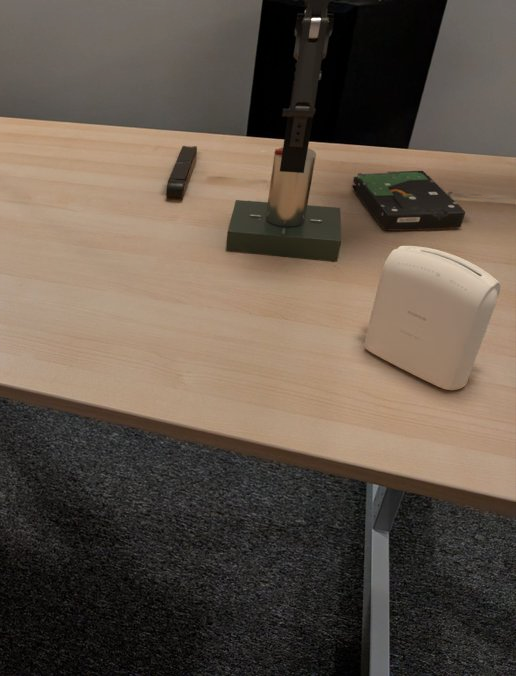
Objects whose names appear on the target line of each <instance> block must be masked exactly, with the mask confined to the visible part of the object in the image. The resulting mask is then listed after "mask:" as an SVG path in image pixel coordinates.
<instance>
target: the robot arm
mask: <svg viewBox="0 0 516 676" xmlns="http://www.w3.org/2000/svg"><path fill="white" fill-rule="evenodd" d="M294 1H297V2H299V1H300V2H301V1H304V2H303V3H304V6H305V7H304V12H303V13H297V14H296V19H295V20H296V21H295V27H294V36H295V43H294V50H293V58H294V59H295V60H296V63H295V64H294V65H295V66H294V68H295V70H294V73H293V77H294V80H293V81H292V87H291V93H290V100H289V106H288V108H282V113H281V117H282V118H287V119H286V126H285V133H284V138H283V145H282V147H283V152H282V159H281V165H280V171H282V172H296V173H304V168H305V162H306V156H307V151H308V149H309V144H310V138H311V133H312V132H311V131H312V126H313V121H314V116H315V115H316V111H317V110H316V108H315V106H316V100H317V94H318V88H319V81H322V72H323V71H322V69H321V68H322V62H323V60H324V59H325V58H326V56H327V53H328V46H329V39H330V37H331V36H332V32H333V28H334V22H335V18H334V16H335V15H334V13H328V11H329V5H330V4H329V3H331V2H333V1H334V0H294ZM335 1H338V2H341V1H342V0H335Z"/></svg>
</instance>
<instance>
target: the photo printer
mask: <svg viewBox="0 0 516 676" xmlns="http://www.w3.org/2000/svg"><path fill="white" fill-rule="evenodd" d="M379 277H380V278H379V281H378V284H377V289H376V292H375V297H374V301H373V305H372V310H371V312H370V313H371V314H370V316H369V317H370V319H369V321H368V326H367V329H366V333H365V338H364V344H363V345H364V349H365V350H367V351H368V352H369V353H371V354H372V355H374V356H377V357H378V358H380V359H381V360H383V361H386V362H388V363H390V364H392V365H394V366H396V367H397V368H399V369H401V370H403V371H406V372H407V373H409V374H411V375H413V376H414V377H417V378H419V379H421V380H422V381H426V382H428V383H430V384H432V385H433V386H436V387H438V388H441V389H443V390H445V391H448V390H449V391H457V390H461V389H462V388H464V387H465V386H466V385H467V384H468V381H469V378H470V375H471V372H472V370H473V367H474V365H475V362H476V359H477V356H478V353H479V351H480V349H481V346H482V343H483V340H484V338H485V335H486V332H487V329H488V328H489V327H488V326H489V324H490V321H491V319H492V316H493V313H494V311H495V309H496V304H497V301H498V299H499V296H500V292H501V282H500V281H499V280H497V279H496V278H495V277H494V276H493V275H491V274H490V273H488V272H487V271H486V270H484V269H483V268H481V267H480V266H477V265H476V264H474V263H472V262H470V261H468V260H466V259H464V258H462V257H459V256H457V255H455V254H452V253H449V252H446V251H442V250H439V249H435V248H431V247H426V246H418V245H399V247H397V248H395V249H393V250H391V252H390V253H389V254H388V257H387V258H386V260H385V262H384V264H383V266H382V269H381V272H380V276H379Z"/></svg>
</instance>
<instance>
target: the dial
mask: <svg viewBox="0 0 516 676" xmlns="http://www.w3.org/2000/svg"><path fill="white" fill-rule="evenodd" d="M282 152H283V146H282V147H279V148H275V149H274V152H273V160H272V168H271V175H270V176H271V177H270V182H269V189H268V190H269V191H268V199H267V202H268V205H267V213H266V219H267V221H268V222H270V223H272V224H274V225H277V226H283V227H293V226H298V225H301V224H302V223H304V221H305V217H306V211H307V205H308V204H309V199H310V194H311V193H310V192H311V188H312V180H313V175H314V170H315V163H316V157H317V153H316V151H315V150H313V149H311V148H308V151H307V156H306V162H305V168H304V173H296V172H282V171H280V165H281V159H282Z"/></svg>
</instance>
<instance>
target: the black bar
mask: <svg viewBox="0 0 516 676" xmlns="http://www.w3.org/2000/svg"><path fill="white" fill-rule="evenodd" d="M197 154H198V146H197V145H182V146H181V149H180V152H179V153H178V156H177V159H176V160H175V163H174V165H173V167H172V170H171V173H170V175H169V177H168V180H167V183H166V190H165V191H166V192H165V197H166V199H167V200H180V201H183V199H184V197H185V194H186V191H187V189H188V185H189V182H190V179H191V177H192V175H193V171H194V168H195V165H196V163H197V157H198V156H197Z"/></svg>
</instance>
